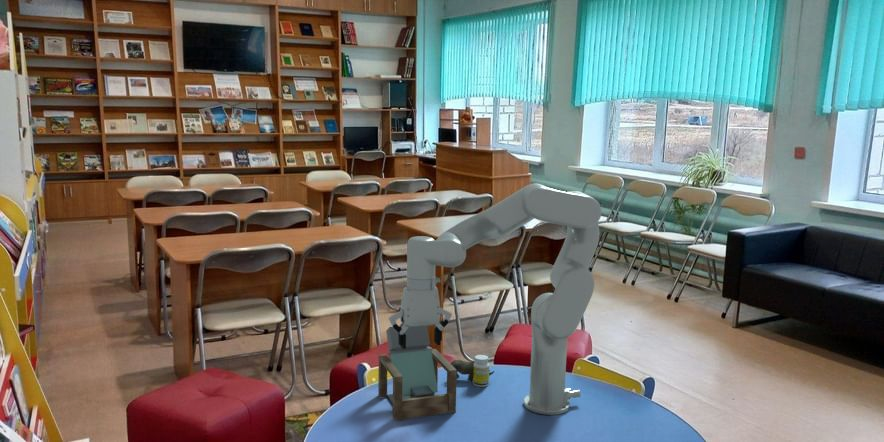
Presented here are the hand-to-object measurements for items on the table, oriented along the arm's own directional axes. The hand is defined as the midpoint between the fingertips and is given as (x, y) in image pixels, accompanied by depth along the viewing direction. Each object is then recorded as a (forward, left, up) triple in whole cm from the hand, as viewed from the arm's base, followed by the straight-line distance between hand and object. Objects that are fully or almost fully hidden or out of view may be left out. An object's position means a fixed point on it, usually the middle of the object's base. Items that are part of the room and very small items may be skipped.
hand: (420, 345), depth 184 cm
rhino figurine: (-21, -14, -18) cm, 31 cm away
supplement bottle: (-22, -10, -18) cm, 31 cm away
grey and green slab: (0, -9, -8) cm, 12 cm away
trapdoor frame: (0, -3, -18) cm, 18 cm away
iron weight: (0, -1, -15) cm, 15 cm away
